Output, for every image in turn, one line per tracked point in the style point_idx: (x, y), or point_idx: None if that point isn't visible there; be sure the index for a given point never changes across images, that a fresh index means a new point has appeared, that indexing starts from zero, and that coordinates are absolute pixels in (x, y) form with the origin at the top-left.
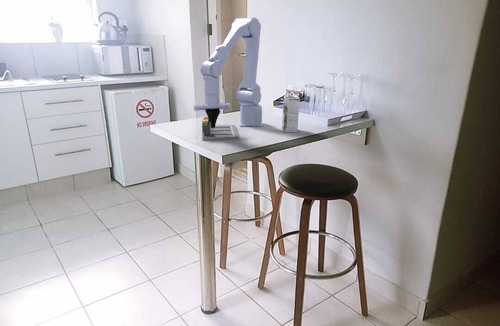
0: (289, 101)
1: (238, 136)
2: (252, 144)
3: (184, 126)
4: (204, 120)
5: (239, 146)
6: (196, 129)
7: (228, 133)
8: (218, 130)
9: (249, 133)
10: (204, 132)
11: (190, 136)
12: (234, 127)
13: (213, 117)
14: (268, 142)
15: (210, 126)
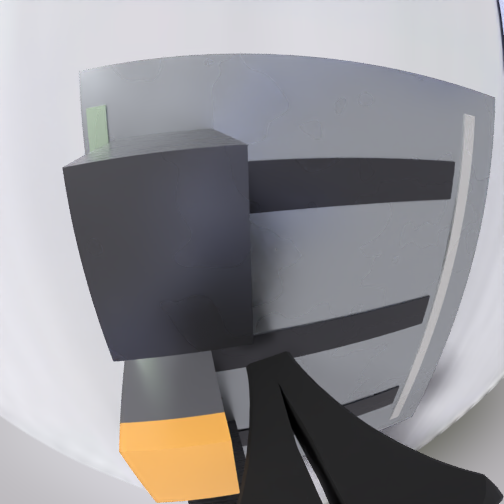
0: None
1: (409, 417)
2: (419, 434)
3: None
4: (179, 484)
5: None
6: (23, 140)
7: (381, 388)
8: (323, 331)
9: (497, 277)
10: None
11: (60, 401)
12: (478, 197)
13: (330, 498)
14: (476, 394)
15: (224, 119)
